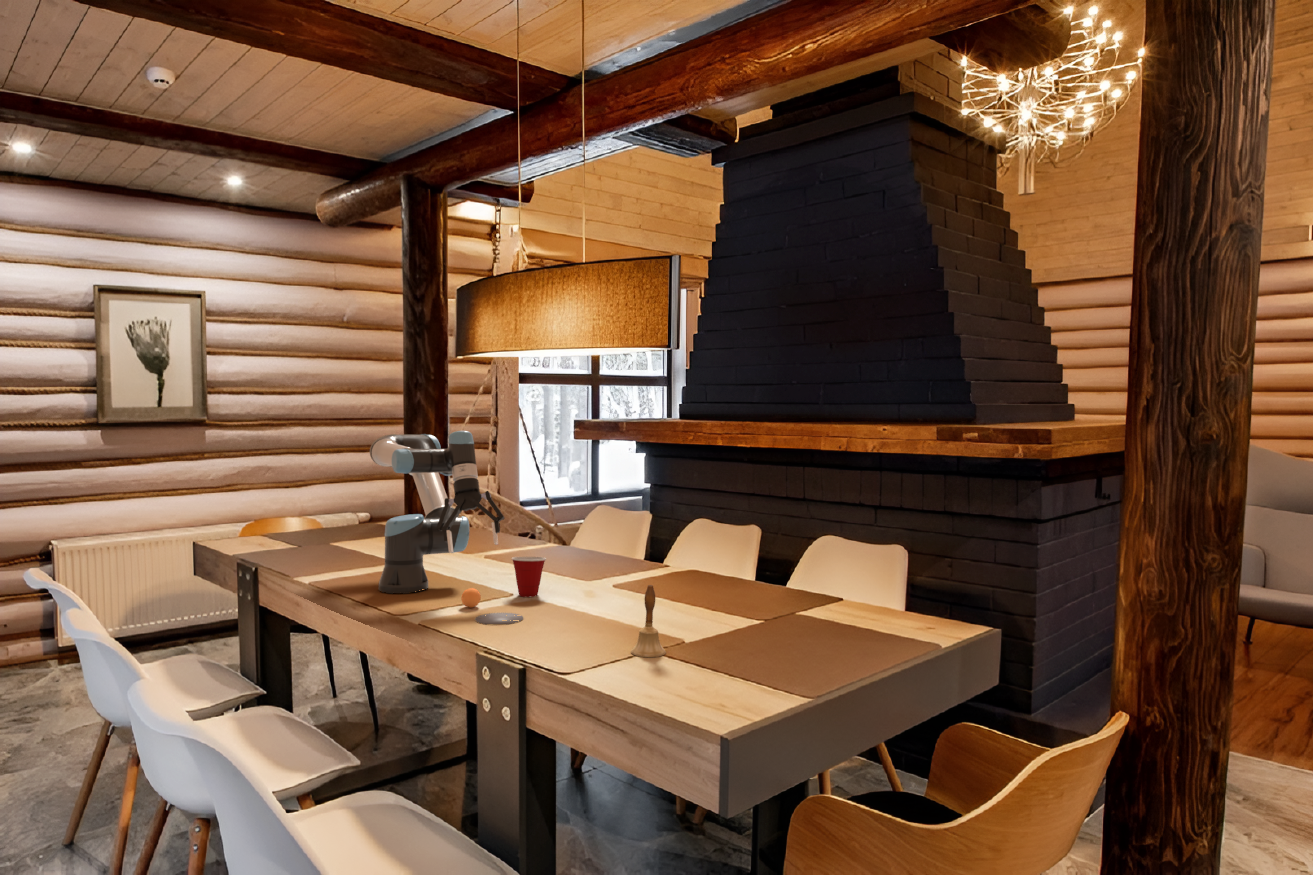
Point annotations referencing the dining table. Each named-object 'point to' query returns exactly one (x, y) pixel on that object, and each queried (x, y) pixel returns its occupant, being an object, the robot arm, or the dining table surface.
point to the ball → (471, 597)
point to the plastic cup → (528, 574)
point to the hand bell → (648, 631)
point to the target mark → (498, 618)
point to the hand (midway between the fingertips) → (473, 548)
